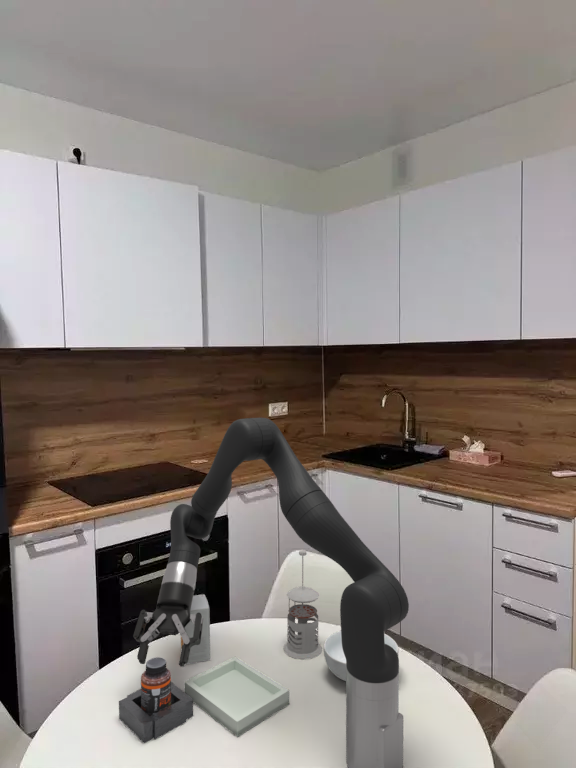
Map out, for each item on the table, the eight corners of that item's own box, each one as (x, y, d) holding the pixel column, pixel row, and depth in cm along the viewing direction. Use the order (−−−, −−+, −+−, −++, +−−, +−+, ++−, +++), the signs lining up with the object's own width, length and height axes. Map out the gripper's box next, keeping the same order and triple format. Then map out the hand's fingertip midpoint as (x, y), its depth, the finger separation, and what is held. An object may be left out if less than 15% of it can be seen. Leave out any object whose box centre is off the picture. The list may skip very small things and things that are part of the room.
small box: (180, 647, 133) (179, 596, 133) (205, 643, 135) (205, 593, 134) (183, 665, 125) (183, 611, 125) (210, 660, 127) (210, 607, 127)
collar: (194, 717, 107) (194, 700, 107) (145, 744, 99) (145, 726, 99) (165, 693, 115) (165, 677, 114) (117, 716, 107) (117, 699, 107)
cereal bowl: (374, 649, 132) (374, 621, 132) (413, 687, 117) (413, 655, 116) (312, 663, 126) (312, 634, 126) (344, 705, 110) (344, 672, 110)
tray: (289, 704, 111) (289, 690, 111) (237, 737, 101) (237, 721, 101) (235, 669, 124) (235, 656, 124) (184, 695, 114) (184, 681, 114)
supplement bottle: (163, 729, 103) (163, 672, 103) (135, 725, 105) (134, 668, 104) (176, 709, 109) (175, 655, 109) (149, 706, 110) (148, 652, 110)
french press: (292, 662, 126) (292, 559, 125) (274, 639, 137) (274, 544, 136) (329, 653, 130) (329, 553, 129) (308, 632, 141) (308, 539, 140)
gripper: (143, 579, 119) (123, 657, 108) (205, 581, 117) (191, 661, 106) (152, 592, 124) (133, 667, 113) (211, 594, 123) (198, 671, 112)
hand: (161, 664), depth 110 cm, fingers open, 8 cm apart
